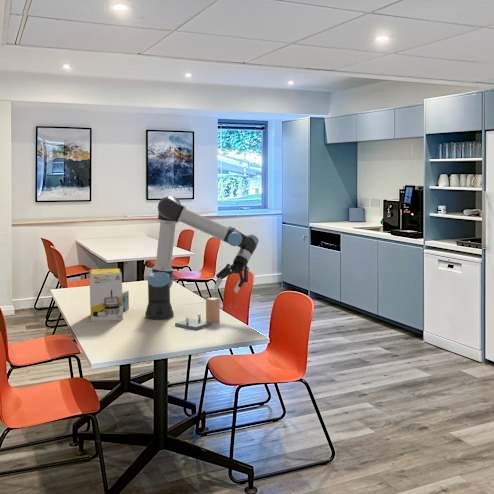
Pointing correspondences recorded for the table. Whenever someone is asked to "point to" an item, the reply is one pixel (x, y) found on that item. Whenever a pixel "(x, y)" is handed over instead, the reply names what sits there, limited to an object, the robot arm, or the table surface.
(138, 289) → the table surface
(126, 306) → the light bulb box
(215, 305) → the case
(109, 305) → the packaging box
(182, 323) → the pin tray
